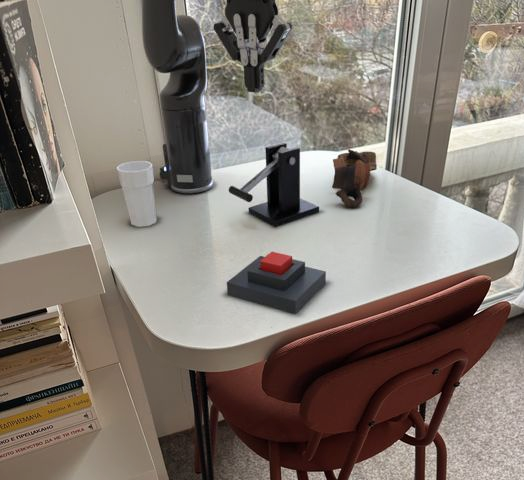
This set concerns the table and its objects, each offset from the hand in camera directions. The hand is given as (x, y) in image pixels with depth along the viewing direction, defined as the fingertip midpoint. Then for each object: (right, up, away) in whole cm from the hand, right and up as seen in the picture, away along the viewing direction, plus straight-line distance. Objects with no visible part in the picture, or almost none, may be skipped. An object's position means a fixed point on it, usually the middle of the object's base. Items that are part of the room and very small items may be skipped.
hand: (254, 91), depth 87 cm
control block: (+3, -31, -1) cm, 32 cm away
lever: (+2, -9, +17) cm, 19 cm away
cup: (-22, -15, +23) cm, 36 cm away
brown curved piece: (+18, +1, +35) cm, 39 cm away
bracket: (+5, -13, +24) cm, 28 cm away
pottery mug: (+15, -6, +25) cm, 30 cm away
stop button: (+3, -28, -3) cm, 29 cm away
